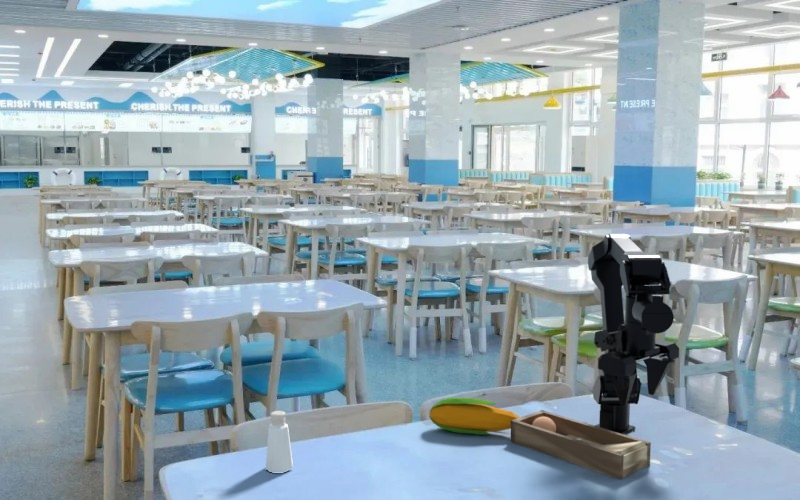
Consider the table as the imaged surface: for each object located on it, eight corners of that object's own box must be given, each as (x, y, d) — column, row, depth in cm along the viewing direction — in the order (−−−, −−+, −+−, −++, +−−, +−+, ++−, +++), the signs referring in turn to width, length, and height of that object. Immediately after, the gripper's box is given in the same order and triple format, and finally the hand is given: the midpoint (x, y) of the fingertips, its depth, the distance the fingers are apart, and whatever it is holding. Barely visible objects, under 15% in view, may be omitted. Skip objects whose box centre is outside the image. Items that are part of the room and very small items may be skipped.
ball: (559, 414, 168) (540, 413, 172) (543, 420, 165) (524, 418, 169) (562, 439, 168) (543, 437, 172) (547, 444, 165) (528, 443, 168)
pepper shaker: (298, 465, 157) (297, 409, 156) (285, 476, 152) (284, 418, 151) (273, 461, 159) (271, 406, 157) (259, 472, 154) (258, 415, 152)
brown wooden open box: (541, 430, 175) (542, 408, 175) (649, 465, 156) (650, 440, 155) (510, 441, 169) (510, 418, 168) (619, 479, 149) (620, 453, 149)
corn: (433, 388, 180) (525, 395, 174) (434, 421, 181) (525, 429, 176) (425, 401, 173) (520, 408, 167) (426, 435, 174) (520, 443, 169)
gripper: (633, 306, 168) (630, 380, 170) (575, 320, 156) (573, 399, 158) (682, 315, 159) (678, 393, 162) (625, 331, 148) (622, 414, 150)
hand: (637, 399), depth 158 cm, fingers open, 9 cm apart
